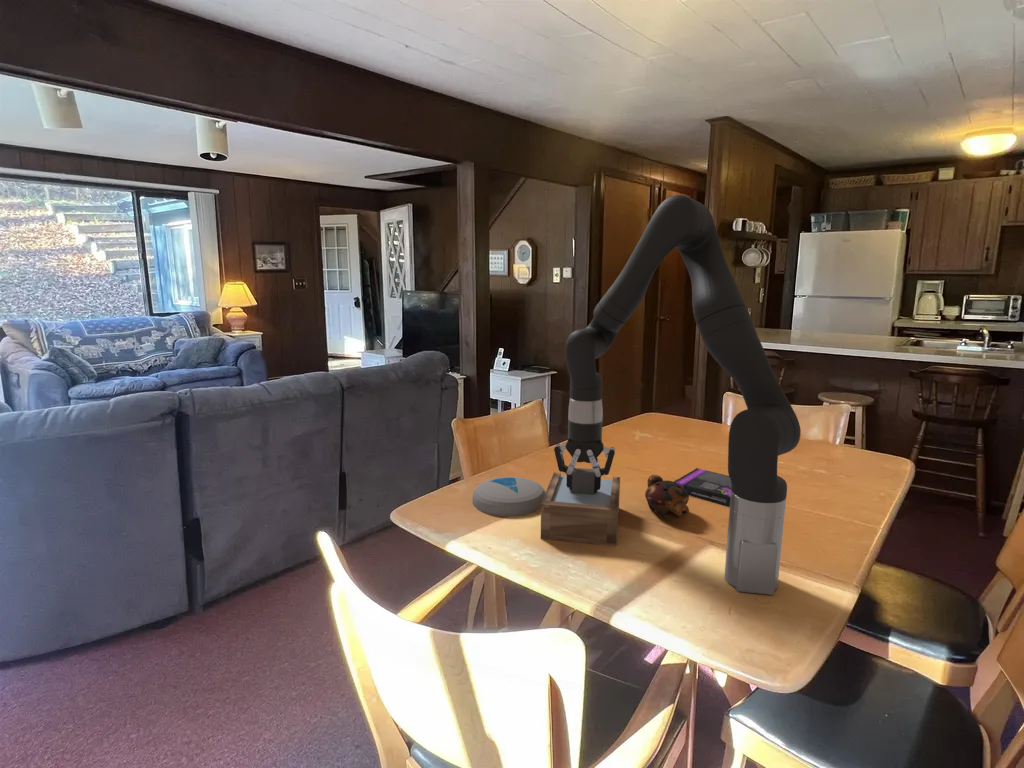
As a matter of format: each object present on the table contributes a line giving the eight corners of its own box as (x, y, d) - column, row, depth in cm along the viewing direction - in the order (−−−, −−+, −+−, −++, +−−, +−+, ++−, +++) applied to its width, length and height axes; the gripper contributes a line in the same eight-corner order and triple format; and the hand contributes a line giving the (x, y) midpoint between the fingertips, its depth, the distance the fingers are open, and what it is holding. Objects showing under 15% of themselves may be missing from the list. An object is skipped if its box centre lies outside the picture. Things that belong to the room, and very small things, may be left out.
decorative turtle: (664, 499, 147) (665, 469, 145) (703, 523, 133) (706, 490, 132) (630, 504, 144) (632, 474, 142) (668, 530, 130) (670, 496, 128)
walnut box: (616, 545, 122) (617, 510, 121) (540, 538, 126) (540, 504, 124) (619, 508, 142) (620, 477, 140) (553, 502, 145) (553, 472, 143)
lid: (612, 514, 124) (613, 487, 122) (547, 508, 126) (547, 482, 125) (615, 483, 141) (616, 460, 140) (558, 479, 144) (558, 456, 143)
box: (671, 494, 153) (745, 513, 140) (671, 481, 152) (746, 499, 139) (696, 479, 163) (767, 496, 149) (696, 467, 162) (768, 483, 149)
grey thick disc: (486, 522, 134) (486, 502, 133) (462, 494, 151) (462, 476, 150) (559, 510, 141) (559, 490, 140) (528, 484, 158) (528, 466, 157)
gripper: (550, 420, 128) (550, 493, 131) (617, 424, 125) (614, 498, 128) (555, 412, 135) (554, 482, 138) (618, 415, 132) (615, 486, 136)
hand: (583, 489), depth 133 cm, fingers closed on lid, 5 cm apart
